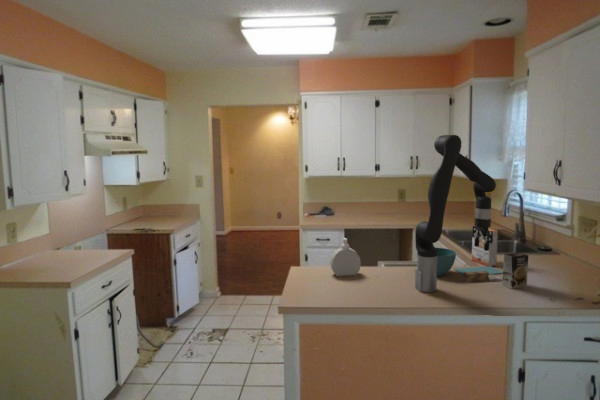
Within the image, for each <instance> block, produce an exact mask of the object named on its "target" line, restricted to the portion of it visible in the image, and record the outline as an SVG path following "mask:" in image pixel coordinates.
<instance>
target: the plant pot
mask: <svg viewBox="0 0 600 400" xmlns="http://www.w3.org/2000/svg"><path fill="white" fill-rule="evenodd" d="M435 248H436V249H437V277H439V276H445V275H447V273H449V272H450V271H451V269H452V267H453V266H454V263H455V260H456V256H457V255H456V254H457V252H456V251H455V250H453V249H449V248H444V247H435Z"/></svg>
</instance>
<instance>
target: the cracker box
mask: <svg viewBox="0 0 600 400" xmlns="http://www.w3.org/2000/svg"><path fill="white" fill-rule="evenodd" d="M488 230H489V231H493V243H490V244H489V250H488V251H485V250H484V240H483V239H482V237H480V238H479V246H478V247H476V246H474V243H475V239H474V237H472V236H471V237H472V241H471V243H472V245H471V261H473V262H475V263H478V264H480V265H483V266H485V267H487V266H491V267H494V266H497V259H498V255H497V254H498V239H499V237H498V233H499V232H498V231H499V230H496V229H492V228H490V227H489V228H488ZM474 235H475V233H474ZM486 237H487V236H486ZM489 239H490V238H489ZM486 241H487V239H486Z"/></svg>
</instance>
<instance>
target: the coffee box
mask: <svg viewBox="0 0 600 400" xmlns="http://www.w3.org/2000/svg"><path fill="white" fill-rule="evenodd" d="M503 255H504V256H503V267H502V268H503V269H502V272H503V274H502V286H504V287H506V288H509V289H512V290H514V289H521V288H522V289H523V288H527V287H528V270H529V268H528V266H529V255H528V254H525V253H521V252H510V253H504V254H503Z"/></svg>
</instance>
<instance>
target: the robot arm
mask: <svg viewBox="0 0 600 400" xmlns="http://www.w3.org/2000/svg"><path fill="white" fill-rule="evenodd" d="M433 147H434V149H435V151H436V152H437V153H438V154H440V156H442V161H441V162H440V163H441V164H440V165H439V167H438V168H437V170H436V171H435V173H434V174H433V175H432V177H431V179H430V181H429V186H428V189H427V200H428V206H429V217H428V221H426V220H423V221H420V222H418V224H417V225H416V227H415V232H414V233H415V234H414V235H415V240H414V241H415V249H416V251H417V252H416V254H417V255H416V258H417V260H416V268H415V270H414V271H415V273H414V275H415V276H414V287H415V289H416V290H417V291H418V292H420V293H435V292H437V289H438V288H437V286H438V285H437V284H438V282H437V281H438V275H437V249H436V248H437V247H436V246H434V243H437V242H438V241H439V240H440V238H442V237H441V236H442V233H443V226H444V225H443V224H444V217H445V212H446V206H447V201H448V198H449V197H448V196H449V194H450V188H451V184H452V180H453V175H454V171H455V167H456V168H457V169H458V170H460V172H462V174H463V175H464V176H465V177H466V178H467V179H468V180H469V181H470V182H473V185H472V186H473V187H472V188H473V194H474V197H475V211H474V225H473V226H472V231H471V232H472V233H471V237H474V239H475V243H474V246H476V247H478V246H479V238H480V237H482V239H483V240H484V250H485V251H488V250H489V244H490V243H493V231H489V230H488V228H489V229H490V228H491V226H492V198H491V197H489V196H488V195H487V194H486V193H492V192H493V191H495V189H496V187H497V183H496V181H495V180H494V178H493V177H491V175H489V174H487V173H486V172H484V171H483V170H481V168H480V167H479V166H478V164H476V162H474V161H473V160H471V159H470V158H468V157H466V156H465V155H463V154H461V150H462V138H461V137H460V136H459V135H457V134H444V135H443V134H442V135H440V136H438V137H436V138H435V140H434V146H433ZM474 233H475V235H474ZM486 236H487V237H486ZM489 238H490V239H489ZM486 239H487V241H486Z"/></svg>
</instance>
